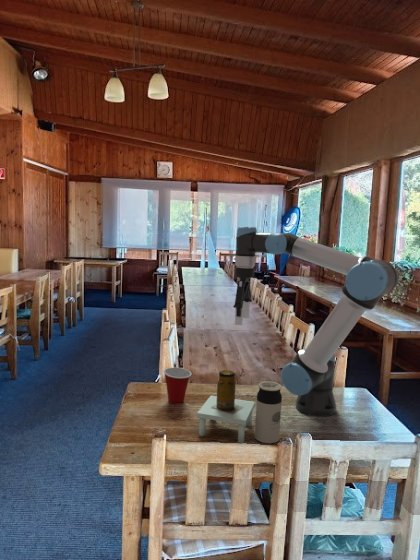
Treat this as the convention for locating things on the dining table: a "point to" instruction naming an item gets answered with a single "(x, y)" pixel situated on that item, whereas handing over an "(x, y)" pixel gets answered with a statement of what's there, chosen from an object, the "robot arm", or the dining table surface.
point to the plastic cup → (176, 383)
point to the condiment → (226, 392)
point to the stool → (226, 415)
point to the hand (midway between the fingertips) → (242, 321)
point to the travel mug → (268, 412)
